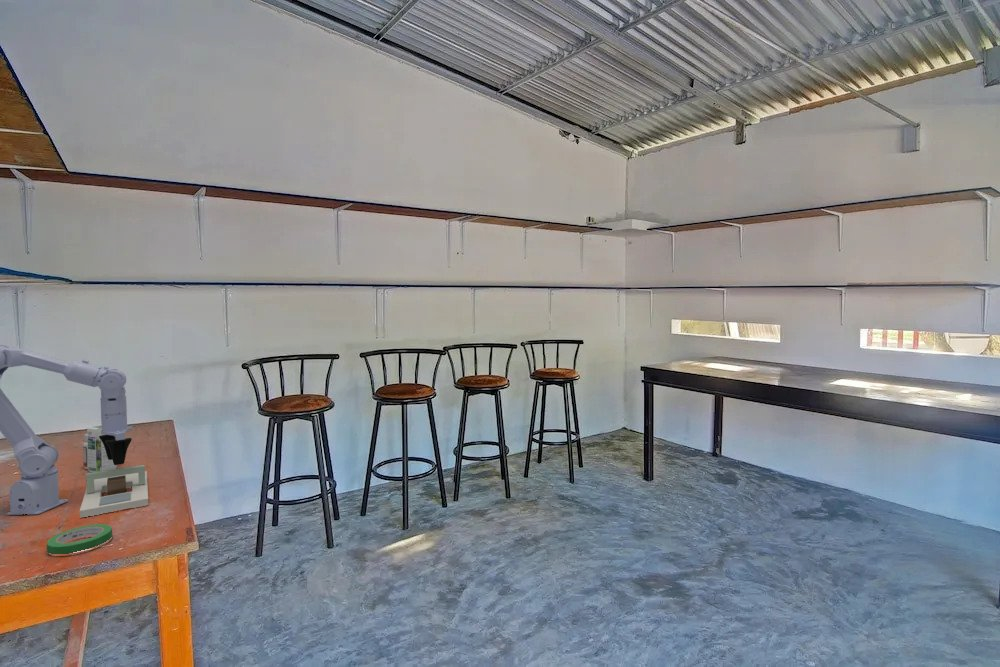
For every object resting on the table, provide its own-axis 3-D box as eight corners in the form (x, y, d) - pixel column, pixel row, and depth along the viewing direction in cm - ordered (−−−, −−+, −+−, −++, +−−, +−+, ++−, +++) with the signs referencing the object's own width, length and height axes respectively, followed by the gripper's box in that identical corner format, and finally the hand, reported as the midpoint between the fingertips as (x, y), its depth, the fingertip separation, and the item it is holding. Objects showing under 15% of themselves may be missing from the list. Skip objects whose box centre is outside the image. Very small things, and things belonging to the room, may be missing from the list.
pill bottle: (111, 464, 173) (111, 431, 173) (95, 470, 167) (95, 435, 167) (94, 464, 174) (94, 431, 174) (78, 469, 168) (77, 435, 168)
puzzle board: (148, 506, 135) (148, 497, 135) (79, 518, 127) (79, 509, 126) (146, 477, 159) (146, 470, 159) (89, 486, 151) (89, 478, 151)
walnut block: (125, 496, 142) (125, 478, 142) (107, 499, 140) (107, 481, 140) (126, 492, 146) (125, 475, 145) (108, 495, 143) (107, 477, 143)
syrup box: (87, 472, 165) (85, 427, 165) (107, 467, 171) (105, 424, 170) (98, 474, 163) (96, 429, 163) (118, 468, 169) (116, 425, 168)
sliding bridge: (145, 483, 146) (144, 466, 145) (86, 493, 138) (86, 474, 138) (145, 482, 147) (144, 464, 147) (87, 491, 140) (86, 473, 140)
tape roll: (43, 563, 104) (43, 550, 104) (50, 544, 113) (50, 532, 113) (111, 548, 111) (111, 536, 111) (113, 531, 120) (112, 520, 120)
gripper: (137, 414, 140) (139, 463, 141) (125, 408, 150) (127, 454, 150) (105, 418, 135) (107, 469, 135) (95, 411, 145) (97, 459, 145)
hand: (116, 461), depth 143 cm, fingers open, 7 cm apart
